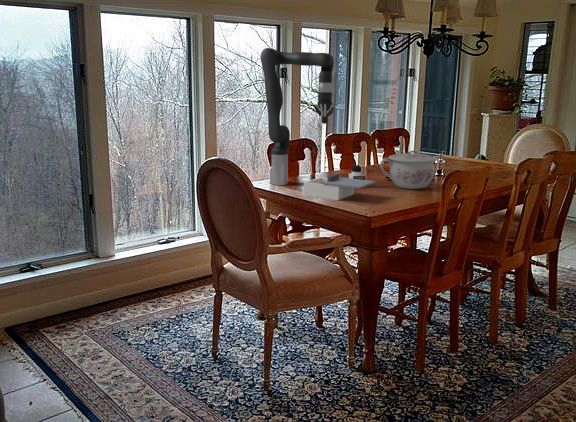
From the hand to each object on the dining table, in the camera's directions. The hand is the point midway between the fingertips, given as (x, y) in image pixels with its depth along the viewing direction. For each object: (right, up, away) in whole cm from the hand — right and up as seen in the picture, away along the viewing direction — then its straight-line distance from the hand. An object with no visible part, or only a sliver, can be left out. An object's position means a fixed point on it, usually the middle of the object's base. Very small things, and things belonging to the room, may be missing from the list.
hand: (324, 123), depth 305 cm
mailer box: (+1, -40, -15) cm, 42 cm away
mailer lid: (+11, -34, -22) cm, 42 cm away
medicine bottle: (+19, -34, +8) cm, 40 cm away
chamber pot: (+49, -35, +8) cm, 61 cm away
